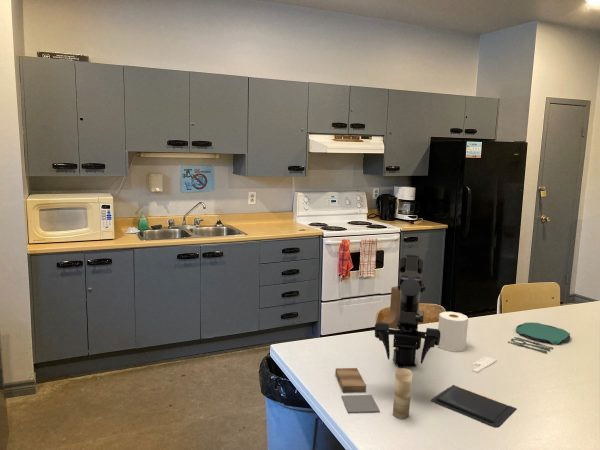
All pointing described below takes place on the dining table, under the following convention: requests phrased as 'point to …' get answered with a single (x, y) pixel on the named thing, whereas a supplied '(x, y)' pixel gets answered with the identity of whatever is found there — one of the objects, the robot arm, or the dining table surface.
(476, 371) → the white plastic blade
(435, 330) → the robot arm
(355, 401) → the support pad
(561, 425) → the dining table surface
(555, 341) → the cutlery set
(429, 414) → the dining table surface
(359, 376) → the walnut slab
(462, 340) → the toilet paper
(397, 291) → the wooden scoop
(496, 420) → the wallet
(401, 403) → the birch roller
